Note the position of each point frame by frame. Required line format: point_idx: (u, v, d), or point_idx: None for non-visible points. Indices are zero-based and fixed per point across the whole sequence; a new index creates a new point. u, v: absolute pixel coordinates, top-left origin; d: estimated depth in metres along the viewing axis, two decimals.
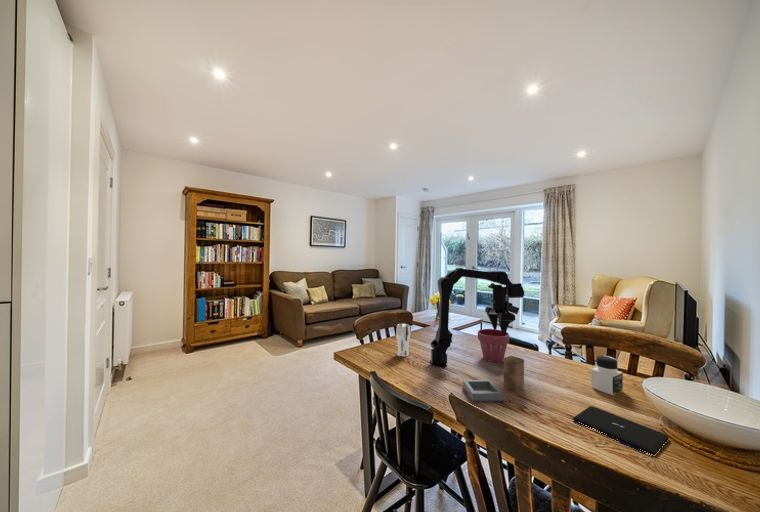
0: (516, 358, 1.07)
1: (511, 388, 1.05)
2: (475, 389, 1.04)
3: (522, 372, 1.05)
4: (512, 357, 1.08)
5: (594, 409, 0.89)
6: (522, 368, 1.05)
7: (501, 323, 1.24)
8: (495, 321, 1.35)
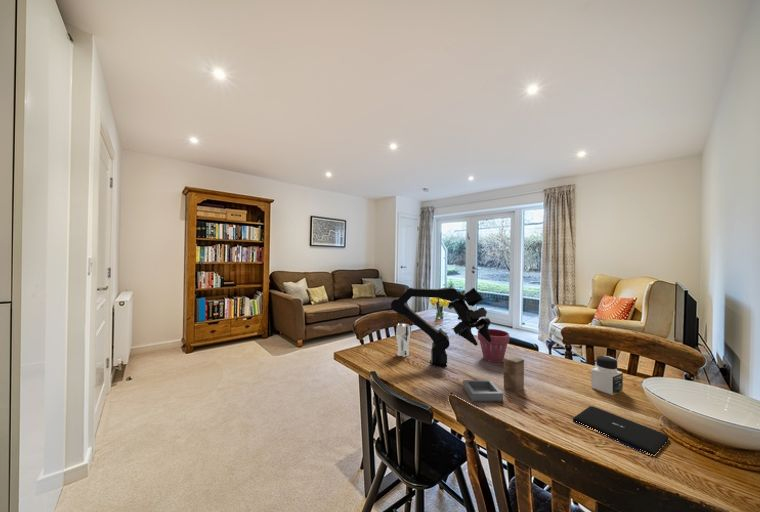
0: (516, 358, 1.07)
1: (511, 388, 1.05)
2: (475, 389, 1.04)
3: (522, 372, 1.05)
4: (512, 357, 1.08)
5: (594, 409, 0.89)
6: (522, 368, 1.05)
7: (463, 336, 1.18)
8: (485, 333, 1.22)
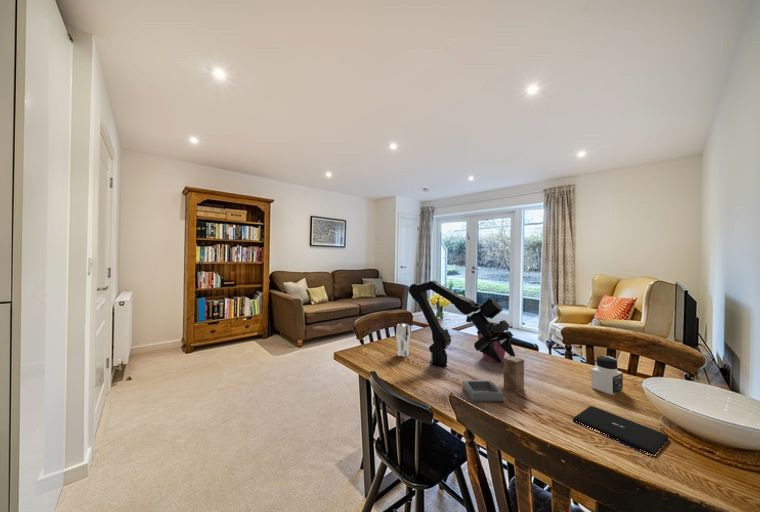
0: (516, 358, 1.07)
1: (511, 388, 1.05)
2: (475, 389, 1.04)
3: (522, 372, 1.05)
4: (512, 357, 1.08)
5: (594, 409, 0.89)
6: (522, 368, 1.05)
7: (485, 352, 1.09)
8: (508, 348, 1.13)
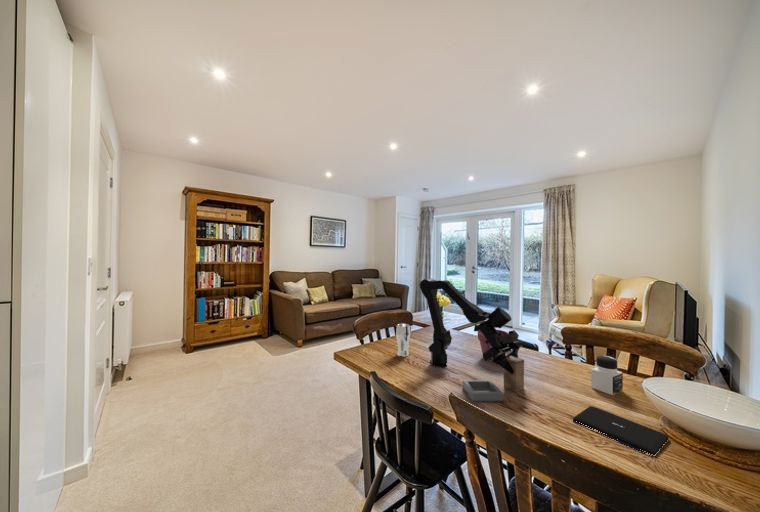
0: (516, 358, 1.07)
1: (511, 388, 1.05)
2: (475, 389, 1.04)
3: (522, 372, 1.05)
4: (512, 357, 1.08)
5: (594, 409, 0.89)
6: (522, 368, 1.05)
7: (497, 363, 1.07)
8: None
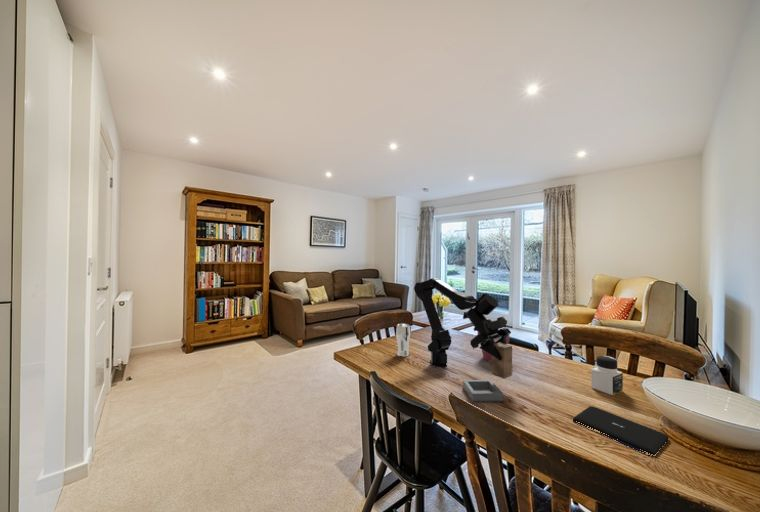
0: (504, 344, 1.05)
1: (499, 375, 1.03)
2: (475, 389, 1.04)
3: (510, 358, 1.03)
4: (500, 344, 1.06)
5: (594, 409, 0.89)
6: (510, 354, 1.03)
7: (485, 349, 1.05)
8: None
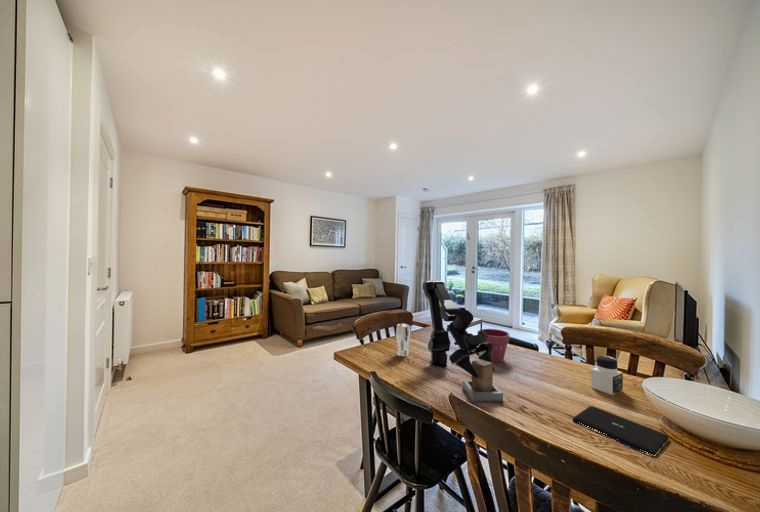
0: (485, 362, 1.01)
1: None
2: None
3: (490, 376, 1.00)
4: (481, 360, 1.02)
5: (594, 409, 0.89)
6: (490, 372, 1.00)
7: (461, 366, 1.01)
8: None
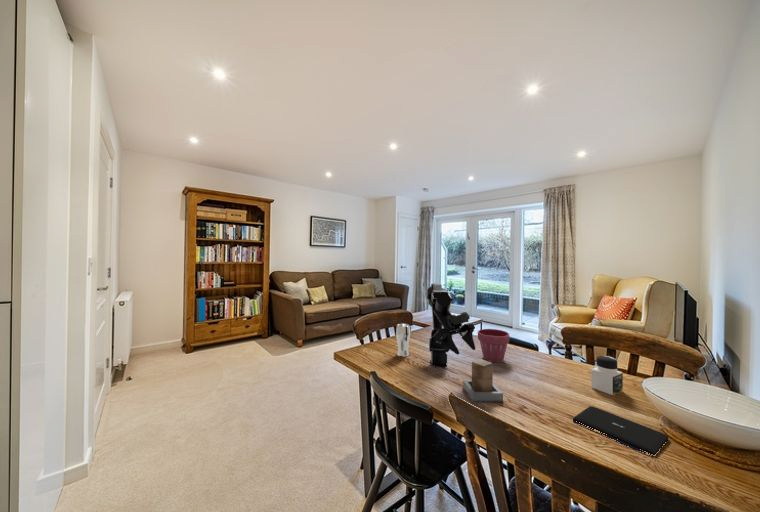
0: (485, 362, 1.01)
1: None
2: None
3: (490, 376, 1.00)
4: (481, 360, 1.02)
5: (594, 409, 0.89)
6: (490, 372, 1.00)
7: (444, 344, 1.08)
8: (469, 340, 1.12)
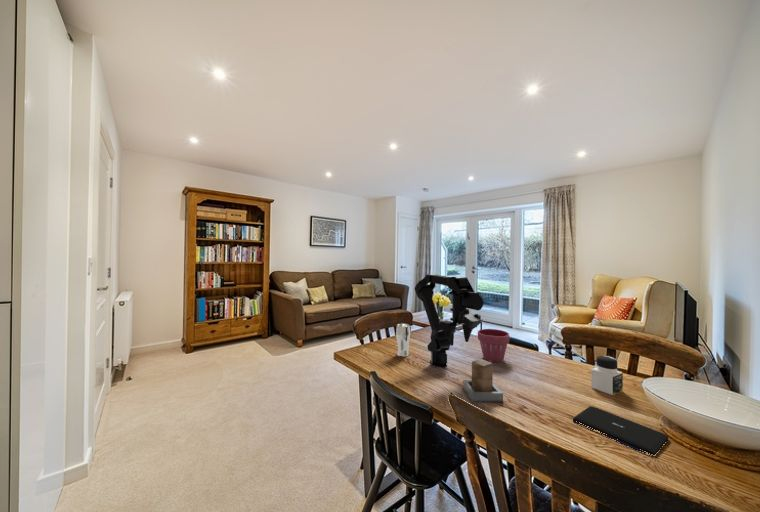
0: (485, 362, 1.01)
1: None
2: None
3: (490, 376, 1.00)
4: (481, 360, 1.02)
5: (594, 409, 0.89)
6: (490, 372, 1.00)
7: (445, 332, 1.16)
8: (467, 333, 1.20)
